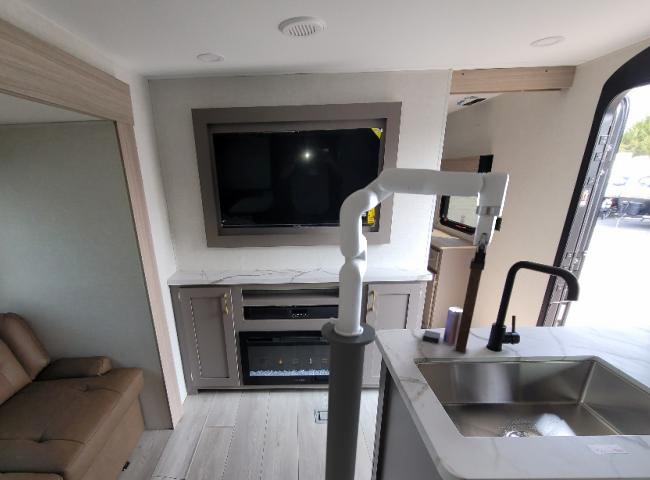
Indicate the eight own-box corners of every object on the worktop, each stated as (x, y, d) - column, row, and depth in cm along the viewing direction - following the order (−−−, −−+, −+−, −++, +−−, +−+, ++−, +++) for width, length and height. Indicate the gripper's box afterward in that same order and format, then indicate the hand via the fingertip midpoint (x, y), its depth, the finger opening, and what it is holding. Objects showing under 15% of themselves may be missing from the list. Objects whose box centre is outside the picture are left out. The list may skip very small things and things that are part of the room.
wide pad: (422, 340, 138) (423, 335, 137) (424, 334, 142) (425, 330, 142) (437, 343, 135) (438, 338, 134) (439, 338, 140) (440, 333, 139)
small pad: (469, 268, 117) (471, 260, 116) (470, 265, 120) (471, 258, 119) (483, 270, 115) (485, 262, 114) (483, 267, 118) (485, 259, 117)
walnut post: (454, 351, 129) (470, 268, 117) (455, 347, 132) (471, 266, 120) (464, 353, 127) (482, 269, 115) (465, 349, 130) (482, 267, 118)
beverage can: (440, 342, 136) (446, 309, 131) (446, 337, 140) (452, 305, 134) (454, 347, 132) (461, 313, 127) (461, 342, 136) (467, 309, 130)
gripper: (477, 208, 119) (468, 254, 125) (475, 213, 105) (465, 264, 111) (501, 209, 115) (491, 256, 122) (502, 214, 102) (491, 267, 108)
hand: (479, 260), depth 116 cm, fingers open, 9 cm apart
